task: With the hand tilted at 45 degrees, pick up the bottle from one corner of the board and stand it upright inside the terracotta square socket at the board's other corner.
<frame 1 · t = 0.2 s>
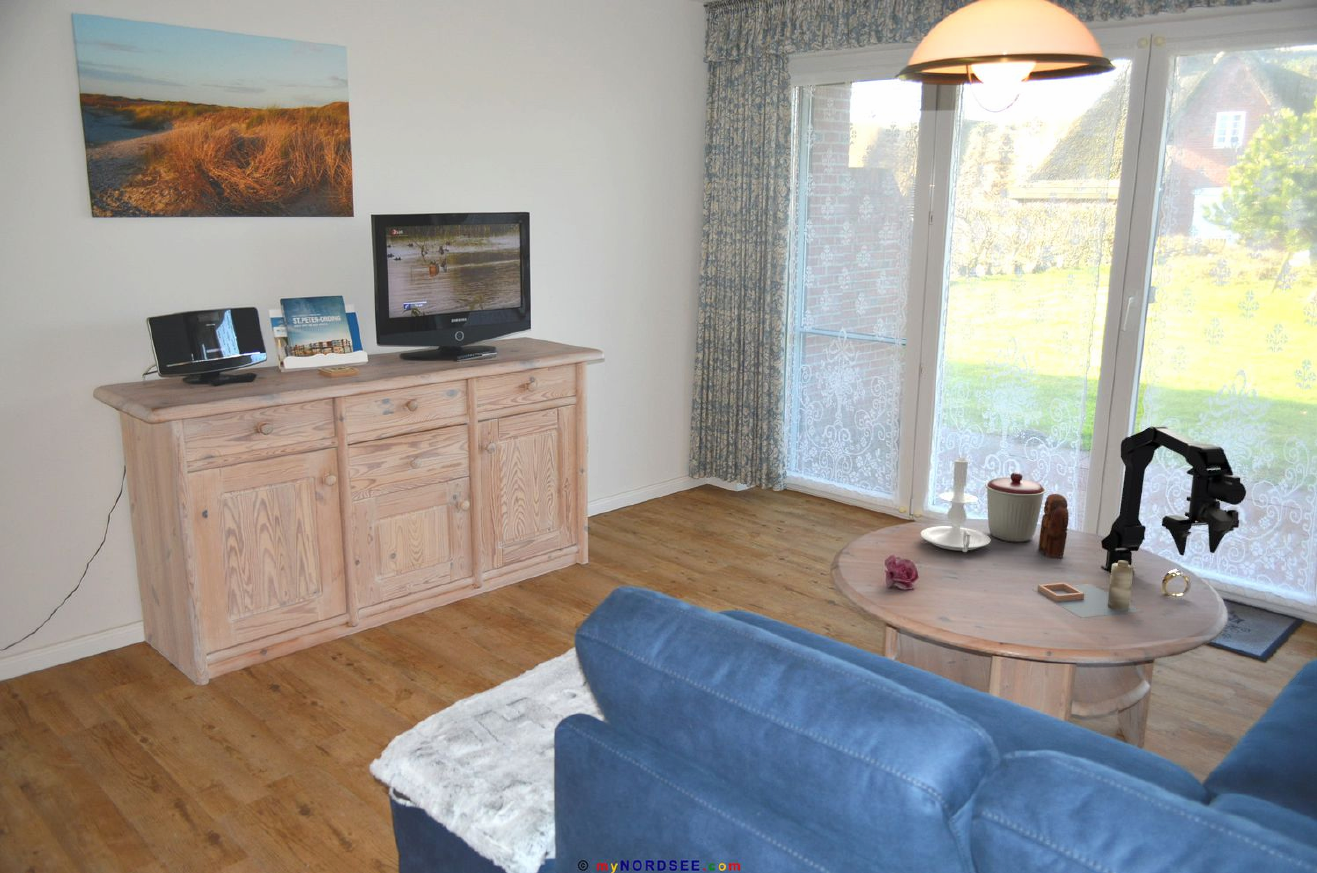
hand: (1196, 553, 255), 14 cm above the table, tool pointing down, fingers open, 9 cm apart
board: (1085, 603, 260), on the table
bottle: (1118, 607, 255), point 1 cm above the table, touching board
canister: (1010, 537, 314), on the table
wooden figurine: (1050, 553, 300), on the table
candlestick: (956, 549, 303), on the table
flower: (900, 586, 271), on the table
ring: (1174, 598, 264), on the table
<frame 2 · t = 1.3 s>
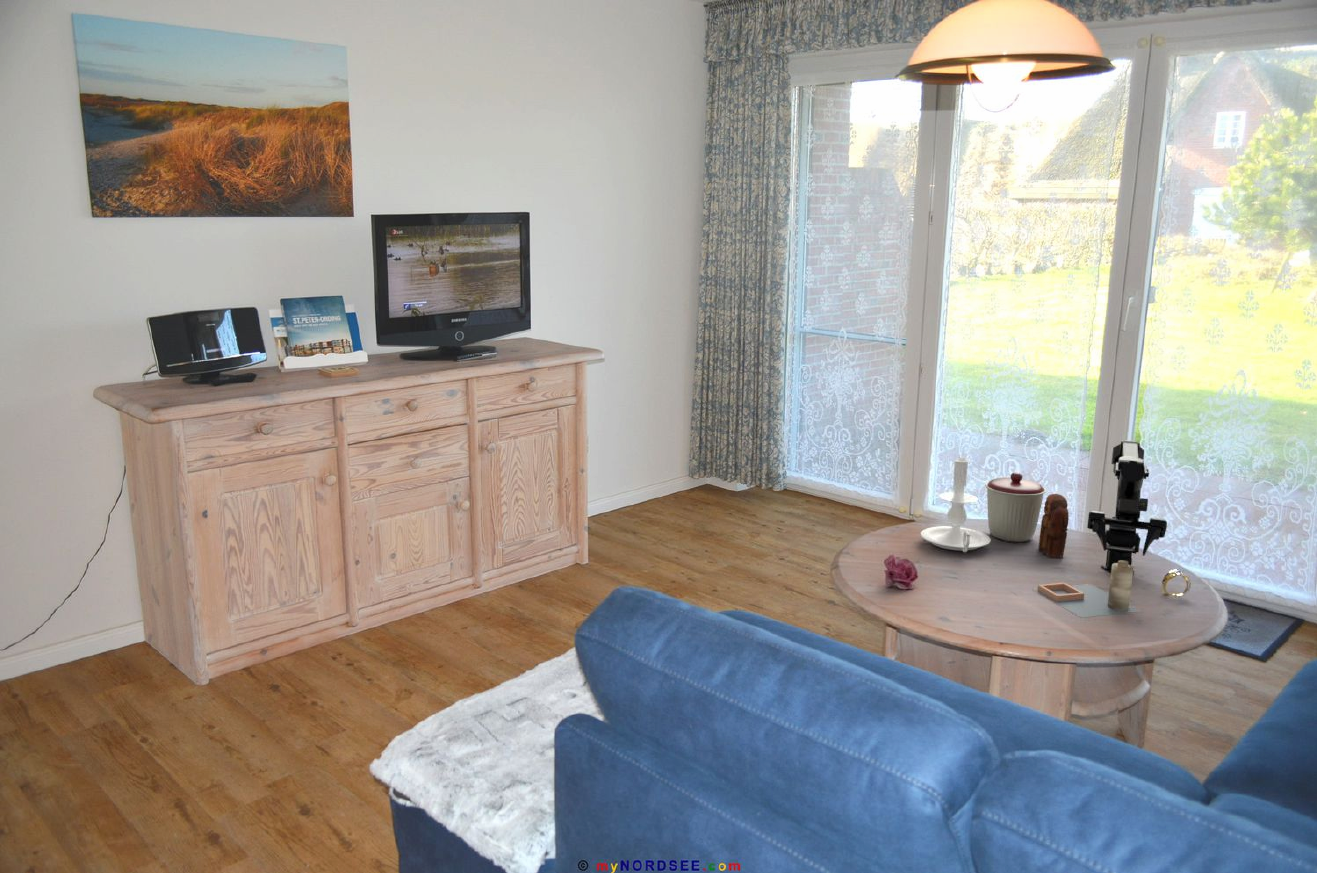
hand: (1124, 552, 259), 13 cm above the table, tool tilted 45°, fingers open, 9 cm apart
nothing on the table moved.
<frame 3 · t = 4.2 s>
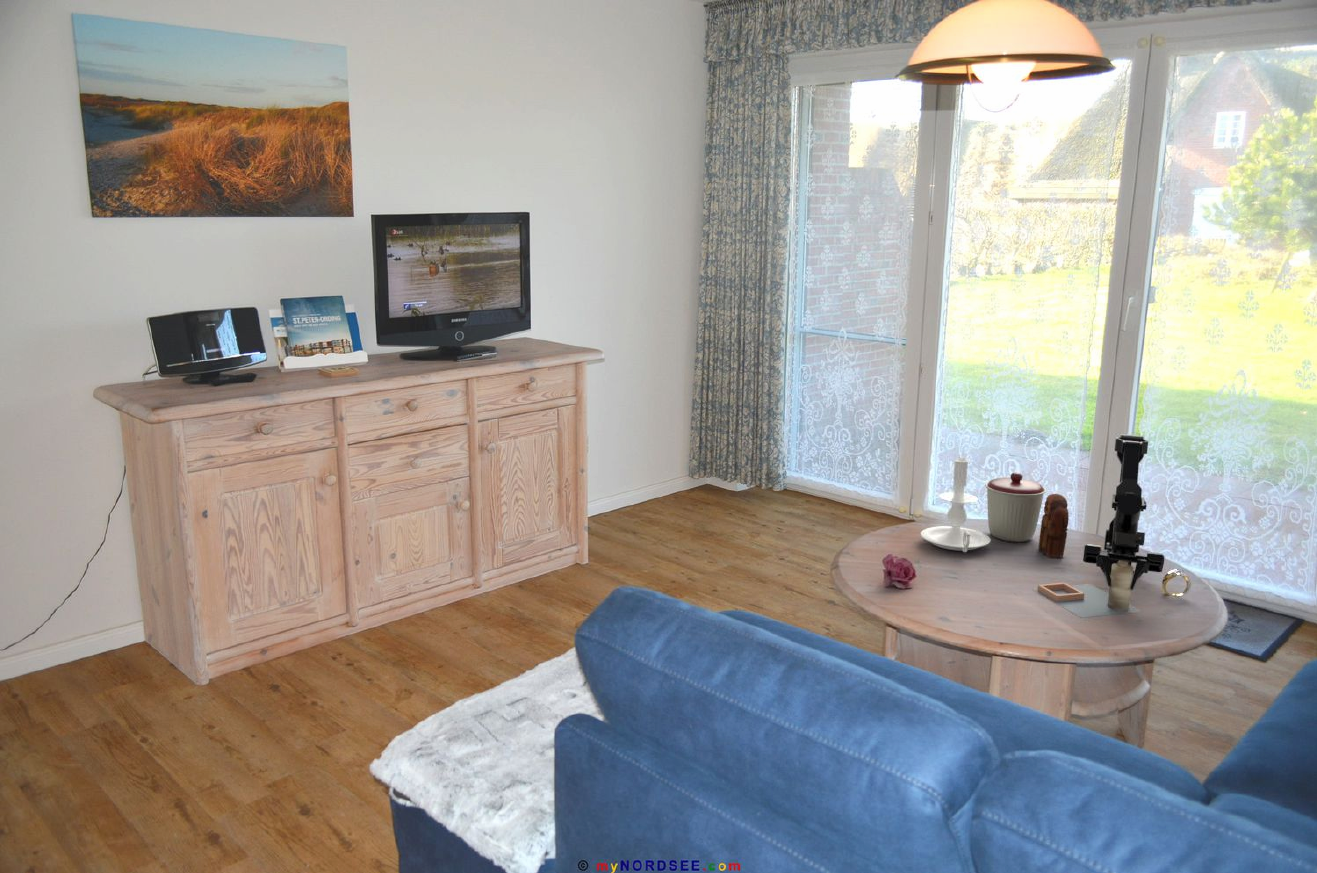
hand: (1120, 587, 253), 7 cm above the table, tool tilted 45°, fingers closed on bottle, 5 cm apart
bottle: (1118, 607, 255), point 1 cm above the table, touching board, gripper
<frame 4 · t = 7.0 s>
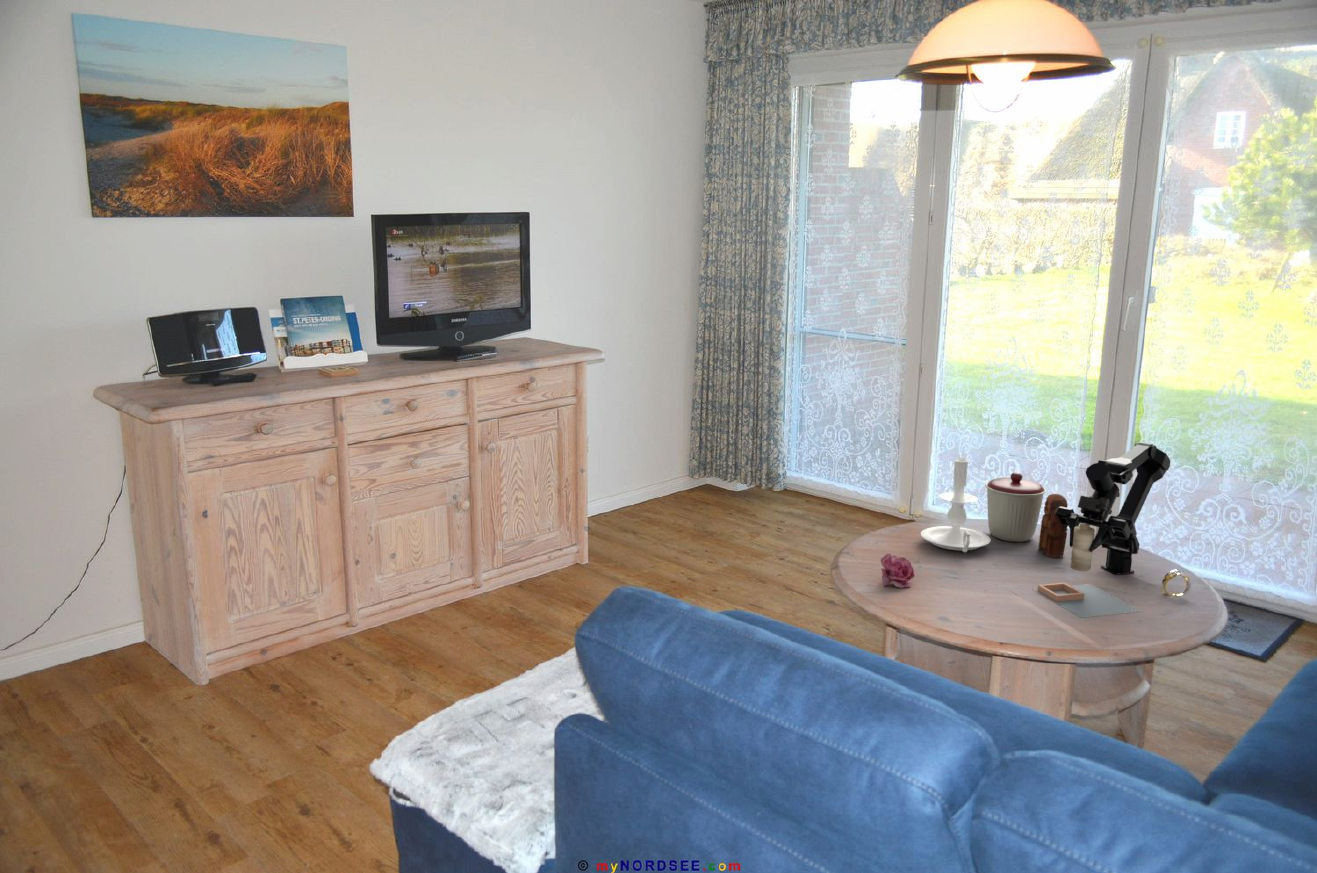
hand: (1080, 548, 265), 12 cm above the table, tool tilted 45°, fingers closed on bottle, 5 cm apart
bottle: (1080, 567, 267), point 7 cm above the table, touching gripper
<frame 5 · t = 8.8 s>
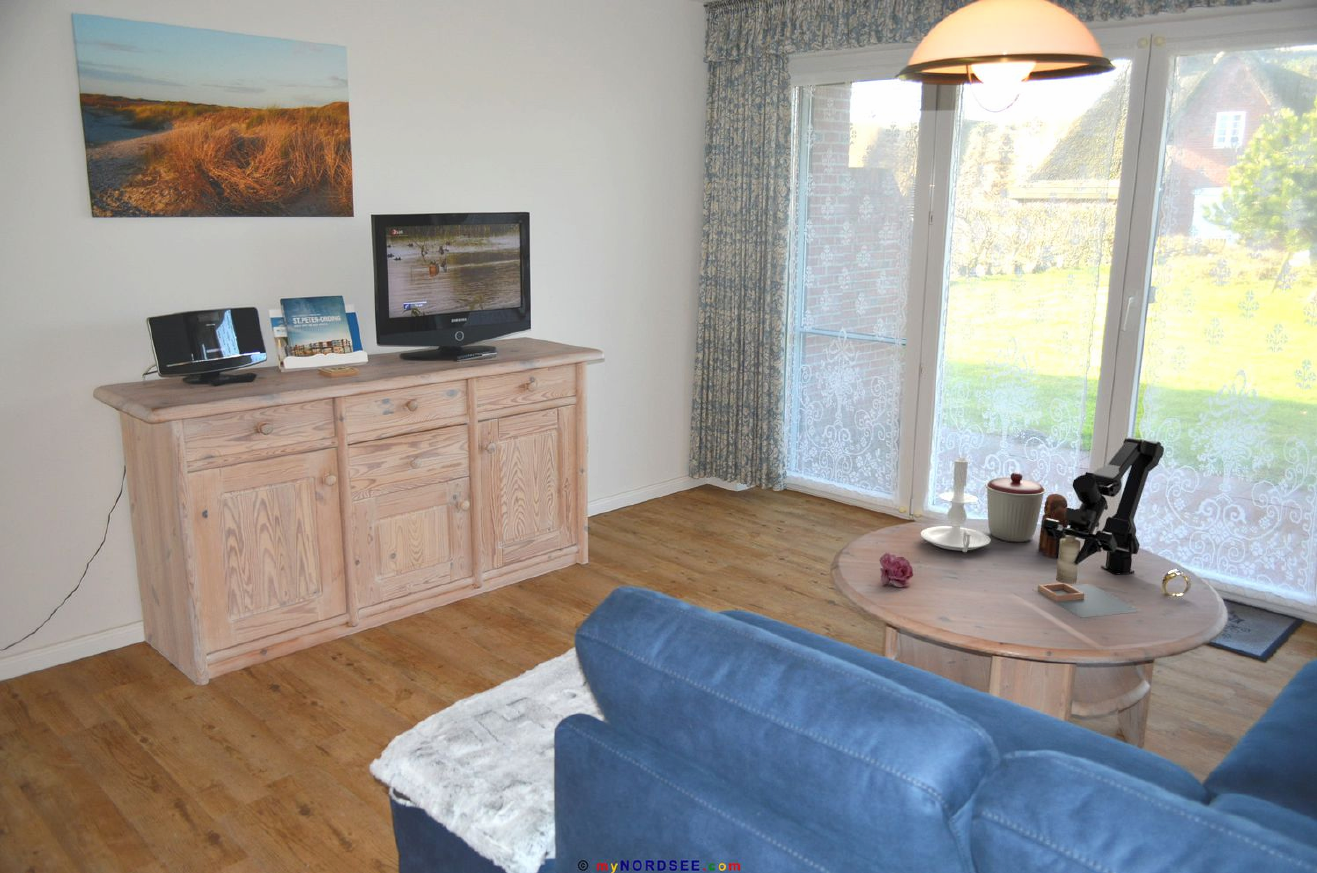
hand: (1065, 561, 262), 10 cm above the table, tool tilted 45°, fingers closed on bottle, 5 cm apart
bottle: (1066, 580, 264), point 4 cm above the table, touching gripper
when the fingers open (9 cm above the table, at t = 9.9 s): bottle drops 2 cm, resting on board.
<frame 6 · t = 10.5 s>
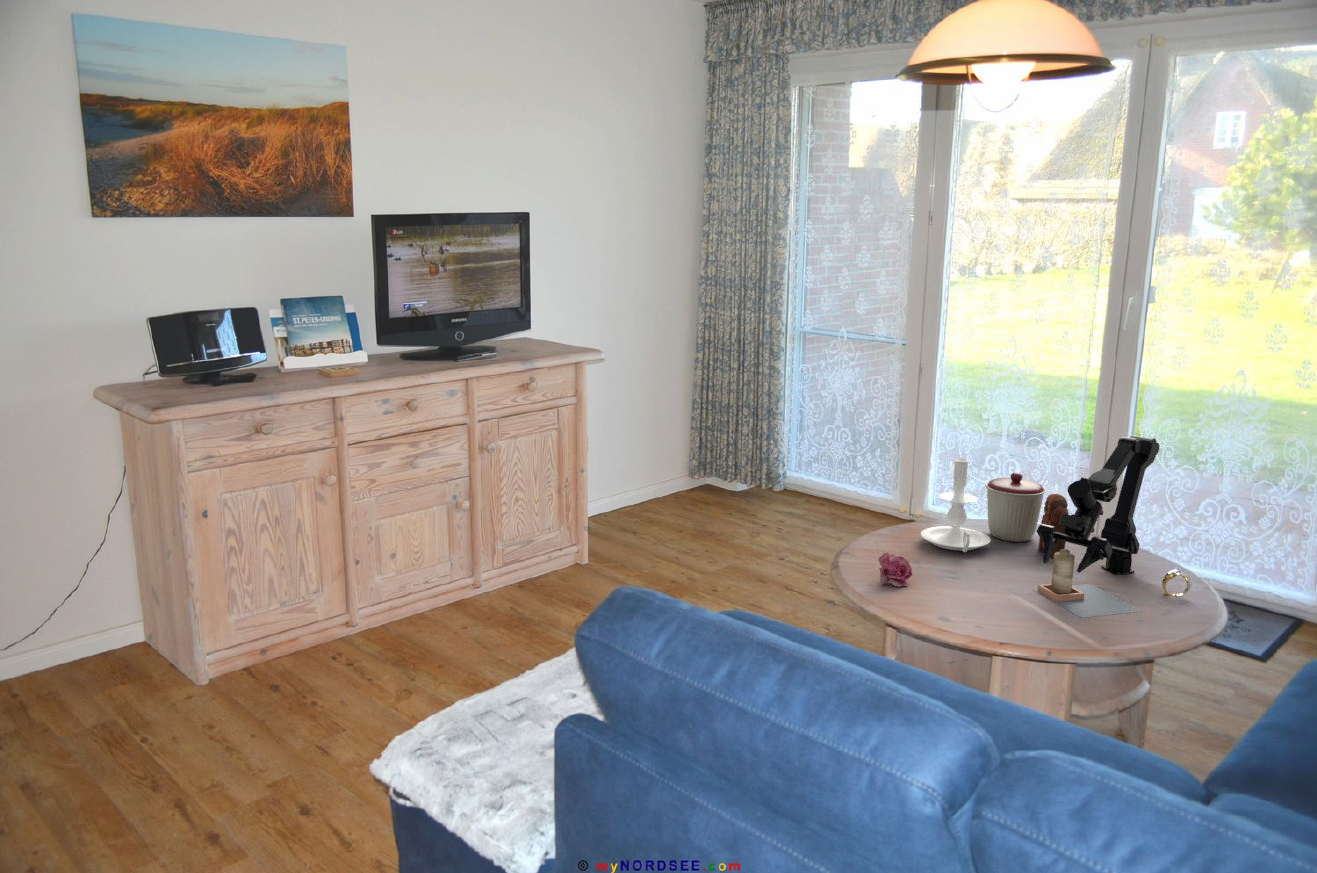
hand: (1060, 567, 261), 9 cm above the table, tool tilted 45°, fingers open, 9 cm apart
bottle: (1060, 594, 263), point 1 cm above the table, touching board
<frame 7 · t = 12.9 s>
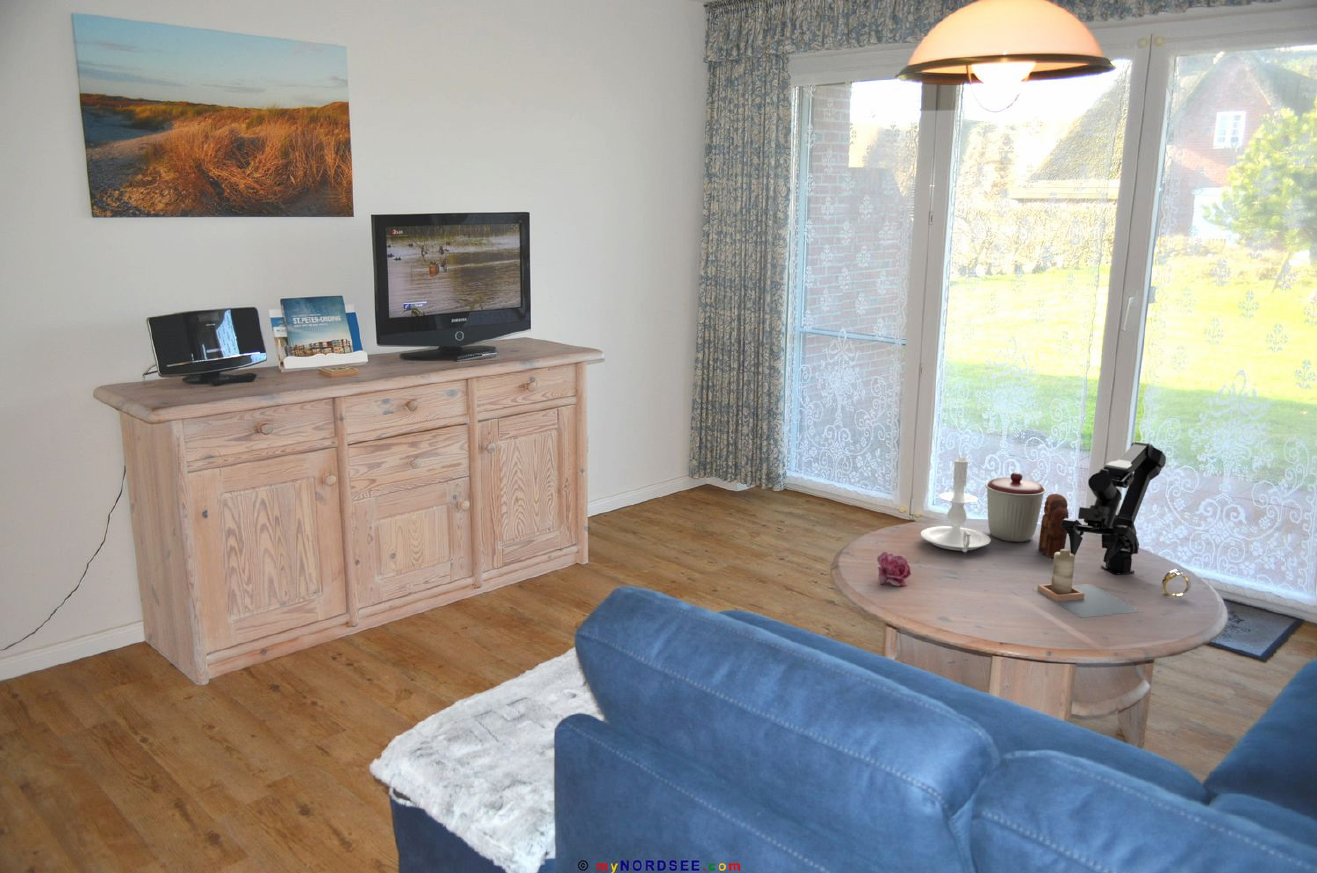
hand: (1088, 559, 266), 9 cm above the table, tool tilted 35°, fingers open, 9 cm apart
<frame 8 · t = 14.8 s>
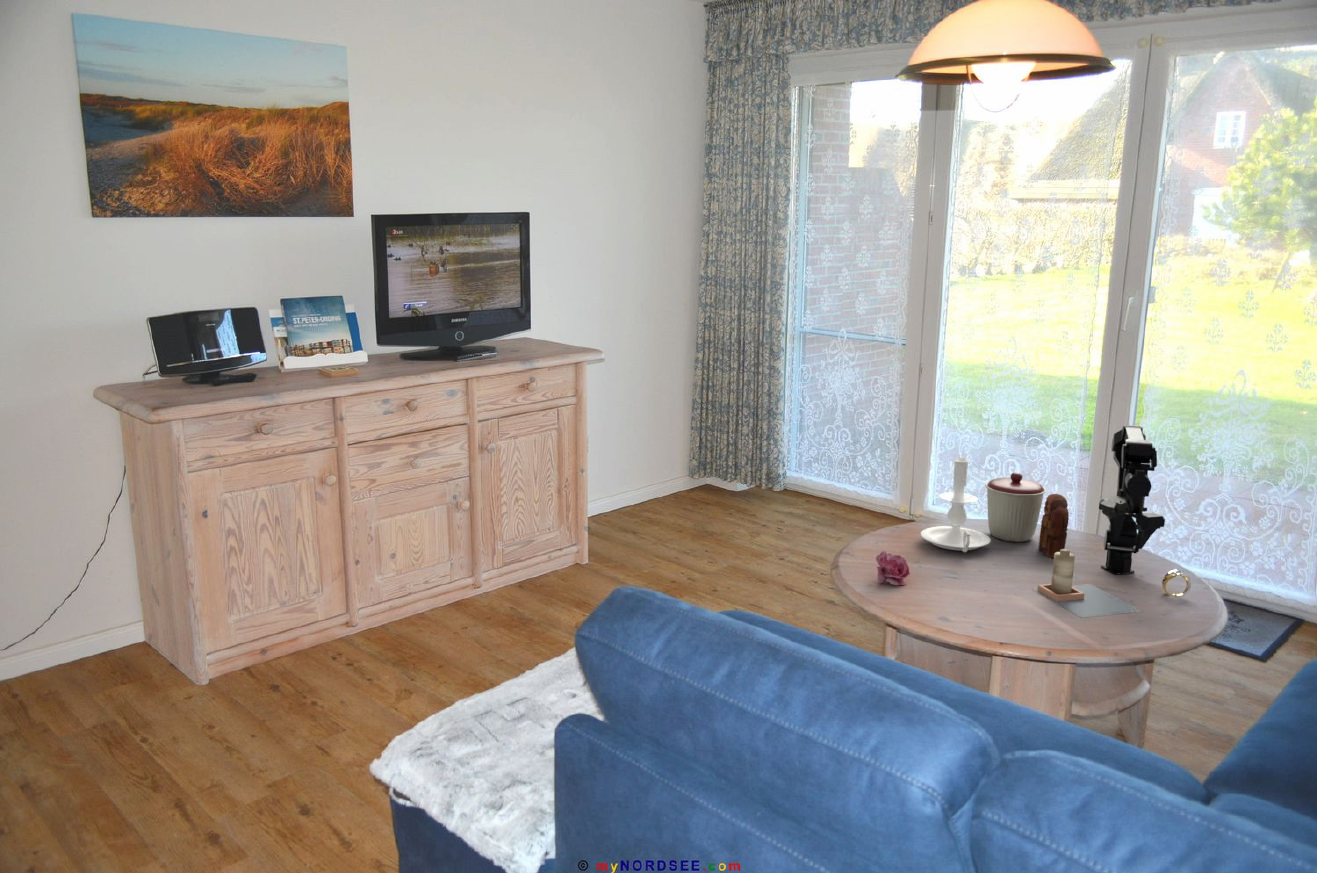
hand: (1127, 543, 268), 13 cm above the table, tool pointing down, fingers open, 9 cm apart
at the end: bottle 0.1 cm from the target spot on the board, point 1.0 cm above the board's base; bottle tilted 0°; the gripper is holding nothing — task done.
